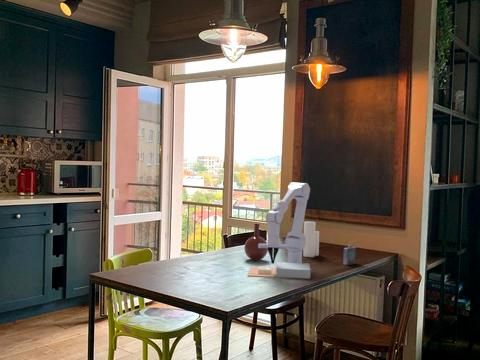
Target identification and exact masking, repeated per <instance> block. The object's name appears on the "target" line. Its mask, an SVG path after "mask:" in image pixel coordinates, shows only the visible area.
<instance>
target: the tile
mask: <svg viewBox="0 0 480 360" xmlns="http://www.w3.org/2000/svg"><path fill="white" fill-rule="evenodd" d="M257 268H258V274H271V268H272V266H268V265H263V266H262V265H259V266H258V267H257Z"/></svg>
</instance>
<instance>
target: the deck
mask: <svg viewBox="0 0 480 360" xmlns="http://www.w3.org/2000/svg"><path fill="white" fill-rule="evenodd" d="M310 266H311V265H310V263H305V262H302V263H288V262H286V261H283V262H279V261H277V262H276V274H275V278H290V279H291V278H292V279H311V267H310Z"/></svg>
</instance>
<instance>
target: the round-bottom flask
mask: <svg viewBox="0 0 480 360" xmlns="http://www.w3.org/2000/svg"><path fill="white" fill-rule="evenodd" d="M253 225H254V228H253V229H254V232H253V234H254V235H253V236H251V237H248V239H247V240H245V241H246V242H245V243H244V246H243V247H244V248H243V250H244V253H245V255H246V257H247V258H249V259H250V260H252V261H261V260H262V259H264V258H265V257H266V256H267V254H268V253H269V252H268V248H258V244H268V241H266V240H265V238H263V237H261V236H260V223H253Z"/></svg>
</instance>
